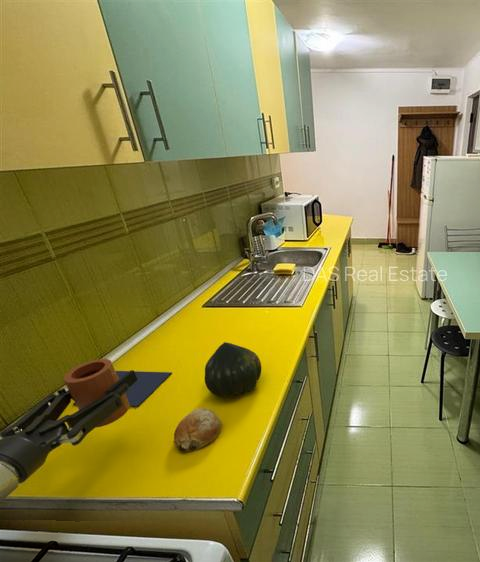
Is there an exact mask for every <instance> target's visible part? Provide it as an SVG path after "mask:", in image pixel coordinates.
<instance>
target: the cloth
mask: <svg viewBox="0 0 480 562" xmlns="http://www.w3.org/2000/svg"><path fill="white" fill-rule="evenodd" d="M115 371H116V374H117V376H118V378H119V380H120V379H121V378H122V377H123V376H125V375H126V374H127V373H128V372H129V371H130V370H115ZM134 372H135V374H136V377H137V379H138V380H137V381H136V382H135V383H134V384H133V385H132V386H130V387H129V389H128V391H126V392H125V395H126V397H127V399H128V402H129V405H130V407H129V408H139V407H140V406H141V405H142V404H143V403H144V402H145V401H146V400H147V399H148V398H150V396H151V395H152V394H153V393H154V392H156V390H157V389H158V388H159V387H160V386H161V385H162V384H163V383H164V382H165V381H167V379H169V377H171V376H172V375H173V371H138V370H136V371H135V370H134ZM72 405H73V406H77V405H76V403H75V401H73V403H72Z"/></svg>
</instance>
